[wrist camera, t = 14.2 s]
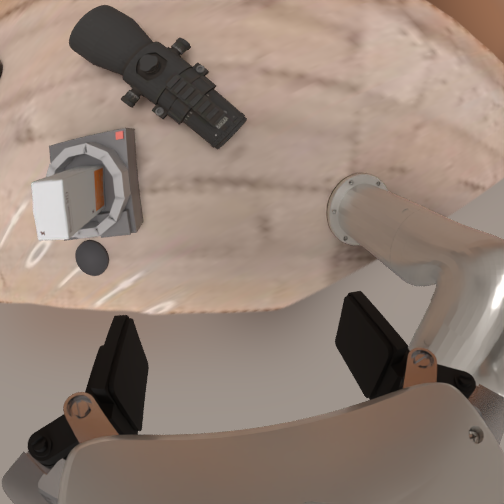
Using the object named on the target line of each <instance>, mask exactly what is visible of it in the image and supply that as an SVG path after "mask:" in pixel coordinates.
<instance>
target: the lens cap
mask: <svg viewBox="0 0 504 504" xmlns="http://www.w3.org/2000/svg"><path fill="white" fill-rule="evenodd" d="M76 262H77V264H78V266H79V268H80V269H81V270H82V271H83V272H85V273H86V274H88V275H92V276H97V275H100V274H102V273H103V272H104V271H105V269H106V268H107V266H108V263H109V257H108V253H107V251H106V249H105V248H104V247H103V246H102V245H101V244H100V243H99V242H97V241H93V240H87V241H84V242H83V243H82V244H81V245H80V246H79V247H78V248H77V250H76Z"/></svg>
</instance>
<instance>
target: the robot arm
mask: <svg viewBox="0 0 504 504" xmlns="http://www.w3.org/2000/svg"><path fill="white" fill-rule="evenodd" d="M349 181H350V182H349ZM332 210H333V211H332ZM327 219H328V223H329V226H330V229H331V231H332V232H333V234H334V235H335V236H336V237H337V238H338V239H339V240H341V241H342V242H343V243H346V244H348V245H354V246H356V245H361V246H363V247H364V248H365V249H366V250H368V251H369V252H370V253H371V254H372V255H374V256H375V257H376V258H377V259H378V260H380V261H381V262H382V263H383V264H384V265H386V266H387V267H388V268H389V269H390V270H392V271H393V272H394V273H395V274H396V275H398V276H399V277H400V278H401V279H402V280H404V281H405V282H407V283H409V284H411V285H414V286H429V285H434V284H436V289H435V292H434V294H433V296H432V299H431V303H430V305H429V307H428V309H427V311H426V313H425V315H424V317H423V319H422V321H421V323H420V325H419V327H418V329H417V330H416V332H415V334H414V336H413V338H412V340H411V342H410V344H409V347H408V345H407V344H406V343H405V341H404V340H403V339H402V338H401V337H400V335H399V334H398V333H397V332H396V331H395V330H394V328H393V327H392V326H391V325H390V324H389V322H388V321H387V320H386V319H385V318H384V317H383V315H382V314H381V313H380V312H379V311H378V310H377V309H376V307H375V306H374V305H373V304H372V303H371V302H370V301H369V299H368V298H367V297H366V296H365V295H364V294H363V293H362V292H361V291H357V292H351V293H348V295H347V296H346V297H345V298H344V303H343V308H342V312H341V317H340V322H339V326H338V331H337V335H336V339H335V343H336V347H337V349H338V350H339V352H340V354H341V355H342V357H343V359H344V361H345V362H346V364H347V366H348V367H349V369H350V371H351V373H352V374H353V376H354V378H355V380H356V381H357V383H358V385H359V386H360V389H361V390H362V392H363V394H364V396H365V397H366V398H369V399H370V400H368V401H366V402H362V403H359V404H356V405H353V406H350V407H347V408H343V409H340V410H336V411H333V412H329V413H325V414H321V415H317V416H313V417H309V418H305V419H301V420H296V421H292V422H287V423H281V424H275V425H270V426H264V427H257V428H250V429H243V430H235V431H225V432H215V433H201V434H176V435H138V431H141V430H142V421H143V410H144V401H145V392H146V384H147V376H148V361H147V359H146V356H145V353H144V350H143V347H142V345H141V342H140V339H139V336H138V333H137V330H136V327H135V324H134V321H133V319H131V318H129V317H128V316H127V315H122V316H121V315H120V316H114V319H113V321H112V324H111V327H110V329H109V332H108V335H107V338H106V341H105V344H104V345H103V346H100V348H99V350H98V353H97V356H96V359H95V362H94V365H93V368H92V371H91V375H90V378H89V381H88V385H87V388H86V391H85V392H78V393H75V394H72V395H71V396H69V397H68V398H67V400H66V401H65V403H64V407H63V411H64V415H62V416H61V417H59V418H57V419H56V420H54V421H53V422H51V423H49V424H48V425H46V426H45V427H43V428H41V429H40V430H38V431H37V432H35V433H34V434H32V435H31V437H30V439H29V441H28V450H29V451H28V452H27V453H25V452H23V453H22V454H21V455H20V457H19V458H18V459H17V460H16V461H15V463H14V464H13V465H12V466H11V467H10V469H9V470H8V471H7V472H6V474H5V475H4V476H3V479H2V487H3V490H4V492H5V493H6V495H7V496H8V497H9V498H10V500H11V501H12V502H13V503H14V504H504V453H503V451H502V449H501V447H500V445H499V444H500V441H501V438H502V435H503V432H504V239H501V238H499V237H497V236H494V235H492V234H489V233H486V232H483V231H480V230H476V229H473V228H470V227H468V226H465V225H462V224H460V223H458V222H455V221H453V220H451V219H448V218H446V217H444V216H442V215H440V214H438V213H436V212H434V211H431V210H429V209H427V208H425V207H423V206H421V205H418V204H416V203H414V202H412V201H410V200H407V199H405V198H403V197H400V196H398V195H396V194H393V193H391V192H388V189H387V188H386V186H385V184H384V183H383V182H382V181H381V180H380V179H378V178H377V177H375V176H373V175H370V174H366V173H358V174H353V175H351V176H349V177H347V178H345V179H344V180H342V181H341V182H340V183H339V184H338V185H337V187H336V188H335V190H334V191H333V193H332V195H331V197H330V200H329V203H328V209H327Z"/></svg>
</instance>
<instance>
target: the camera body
mask: <svg viewBox="0 0 504 504" xmlns="http://www.w3.org/2000/svg"><path fill="white" fill-rule="evenodd" d="M49 150H50V161H51V164H50V165H49V168H48V171H47V175H46V177H48V176H51V175H54V174H57V173H60V172H63V171H66V170H69V169H72V168H75V167H79V166H92V165H104V196H105V208H104V209H103V210H102V211H101V212H100V213H98V214H97V215H96V216H95V217H94V218H92V219H91V220H90V221H89V222H88V223H87V224H85V225H84V226H83V227H82V228H81V229H80V230H79V231H77V232H76V233H75V234H74V235H73V236H72V237H71V238H70V239H65V240H73V239H81V238H90V237H98V236H101V238H103V237H112V236H121V235H130V234H131V233H136V232H137V231H138V229H139V228H140V226H141V225H142V223H143V217H142V210H141V202H140V194H139V185H138V175H137V164H136V151H135V134H134V129H129V128H124V129H119V130H113V131H108V132H103V133H98V134H94V135H89V136H85V137H81V138H77V139H73V140H69V141H65V142H61V143H58V144H54V145H51V146H49ZM65 240H64V241H65Z"/></svg>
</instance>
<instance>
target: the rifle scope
mask: <svg viewBox="0 0 504 504" xmlns="http://www.w3.org/2000/svg"><path fill="white" fill-rule="evenodd" d="M69 45H70V47H71V48H72V49H73V50H74V51H75V52H76V53H78V54H79V55H81V56H82V57H84V58H85V59H86V60H88V61H89V62H91V63H92V64H93V65H96V66H99V67H102V68H105V69H108V70H110V71H113V72H116V73H118V74H121V75H123V80H124V81H125V82H126V83H128V84H129V85H130V87H132V90H129V91H128V92H127V93H126V95H125V96H123V97H122V98H121V100H122V101H123V102H124V103H126V104H127V105H128V106H130V107H133V106H134V105H135V103H136V102H137V101H138V100H139V99H140V96H141V95H142V96H145V97H146V98H147V99H149V100H150V101H151V102H153V103H154V104H155V105H156V106H155V107H154V108H153V109H152V111H153V112H154V113H156V115H158V116H159V117H161V118H162V119H164V118H165V117H166V116H167V115H169V116H170V117H171V118H173V119H174V120H175V121H176V122H177V123H179V124H180V123H183V122H184V123H186V124H187V125H188V126H189V127H190V128H192V129H193V130H194V131H195V132H196V133H198V134H199V135H200V136H201V137H202V138H204V139H205V140H206V141H207V142H208V143H209V144H211V146H212V147H213V148H214V147H215V148H216V149H219V148H220V147H221V146H223V145H224V144H225V143H226V142H227V141H228V140H229V139H230V138H231V137H232V136H233V135H234V134H235V133H236V132H237V131H238V129H239V128H240V127H241V126H242V125H243V124H244V123H245V121H246V120H247V118H246V117H244V116H245V115H244V114H243V113H241V112H240V111H238V110H237V109H236V108H235V107H234V106H233V105H232V104H230V103H229V102H228V101H227V100H226V99H225V98H224V97H222V96H221V95H220V94H219V93H218V92H216V91H215V90H214V88H215V87H216V85H215V84H214V83H212V82H211V81H210V80H209V79H208V78H206V77H205V75H206V74H207V73H208V70H207V69H206V68H204V66H202V65H200V64H199V63H197V64H195V65H194V66H193V67H192V66H191V65H190V64H188V63H187V62H186V61H184V60H183V59H182V58H181V57H180V55H182V54H183V53H184V52H185V51H186V50H189V49H190V48H191V46H190V44H189V43H188V42H187V41H186V40H184V39H182V38H178V39H177V40H176V42H175V43H174V44H173V45H172V46H171V47H172V48H169V47H168V48H167V47H165V46H164V45H162V44H161V43H159V42H152V41H151V39H150V38H149V37H148V36H147V35H146V33H145V32H144V31H143V30H142V29H141V28H140V26H139V25H138V24H137V23H136V22H135V21H134V20H133V19H132V18H130V17H128V16H127V15H125V14H123V13H122V12H120V11H118V10H117V9H115V8H113V7H111V6H108V5H102V6H98V7H96V8H94V9H92V10H91V11H89V12H88V13H87V14H85V15H84V16H83V17H82V18H81V19H80V20H79V22H78V23H77V24H76V26H75V27H74V29H73V31H72V33H71V35H70V39H69Z"/></svg>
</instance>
